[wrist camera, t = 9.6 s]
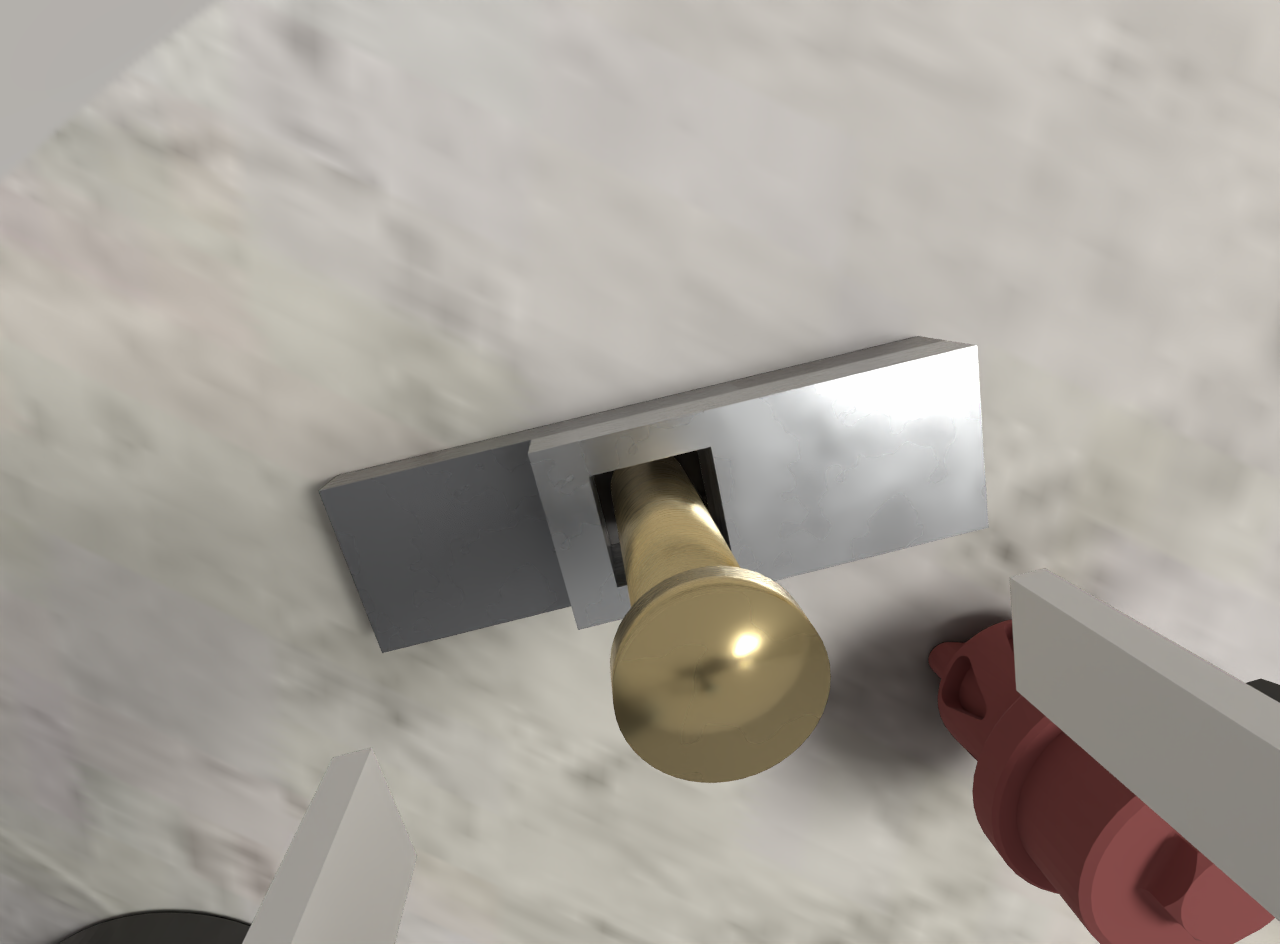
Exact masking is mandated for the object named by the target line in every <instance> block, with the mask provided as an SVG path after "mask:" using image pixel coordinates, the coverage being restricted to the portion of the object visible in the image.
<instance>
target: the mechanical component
mask: <svg viewBox="0 0 1280 944" xmlns="http://www.w3.org/2000/svg"><path fill="white" fill-rule="evenodd" d="M928 660H929V665H930V667H931V668H932V670H933V671H934V672H935V673H936V674H937V675H938V676H939V677H940V678H941V681H940V685H939V691H938V708H939V712H940V717H941V719H942V721H943V723H944V725H945V727H946V728H947V729H948V731H949V732H950V733H951V734H952V736H953V737H954V738H955V739H956V740H957V741H958V742H959V743H960V744H961V745H962V746H963V747H964V748H965V749H966V750H967V751H968V752H969V753H970V754H971V755H972V756H973V757H974V758H975V759H976V760H977V761H978V762H977V766H976V770H975V774H974V782H973V803H974V809H975V813H976V816H977V820H978V822H979V824H980V826H981V828H982V830H983V832H984V834H985V835H986V836H987V838H988V839H989V840H990V842H991V843H992V844H993V846H994V847H995V848H996V850H997V851H998V853H999V854H1000V855H1001V857H1002V858H1003V859H1004V861H1005V862H1006V863H1007V865H1008V866H1009V867H1010V868H1011V869H1012V870H1013V871H1014V872H1015V873H1016V874H1017V875H1018V876H1020V877H1021V878H1022V879H1024V880H1025V881H1027V882H1028V883H1030V884H1032V885H1034V886H1036V887H1038V888H1040V889H1043V890H1047V891H1050V892H1053V893H1057V894H1060V896H1061V897H1062V898H1063V899H1064V901H1065V902H1066V903H1067V904H1068V906H1069V907H1070V908H1071V909H1072V911H1073V912H1074V913H1075V915H1076V916H1077V917H1078V918H1079V920H1080V921H1081V922H1082V923H1083V925H1084V926H1085V927H1086V928H1087V930H1088V931H1089V932H1090V933H1091V935H1092V936H1093V937H1094V938H1095V939H1096V940H1097V941H1098V942H1099V943H1100V944H1234V943H1236V942H1237V941H1239V940H1241V939H1243V938H1245V937H1247V936H1249V935H1250V934H1252V933H1254V932H1256V931H1258V930H1260V929H1261V928H1263V927H1264V926H1265V925H1267V924H1268V923H1270V922H1271V921H1272V920H1273V919H1274V918H1275V917H1274V916H1273V915H1272V914H1270V913H1269V912H1268V911H1267V910H1266V909H1265V908H1264V907H1263V906H1261V905H1260V904H1259V903H1258V902H1257V901H1256V900H1255V899H1253V898H1252V897H1251V896H1250V895H1249V894H1248V893H1247V892H1245V891H1244V890H1243V889H1242V888H1241V887H1240V886H1239V885H1237V884H1236V883H1235V882H1234V881H1233V880H1232V879H1231V878H1229V877H1228V876H1227V875H1226V874H1225V873H1224V872H1223V871H1222V870H1220V869H1219V868H1218V867H1217V866H1216V865H1215V864H1214V863H1212V862H1211V861H1210V860H1209V859H1208V858H1207V857H1206V856H1204V855H1203V854H1202V853H1201V852H1200V851H1199V850H1198V849H1196V848H1195V847H1194V846H1193V845H1192V844H1191V843H1190V842H1188V841H1187V840H1186V839H1185V838H1184V837H1183V836H1182V835H1181V834H1179V833H1178V832H1177V831H1176V830H1175V829H1174V828H1173V827H1171V826H1170V825H1169V824H1168V823H1167V822H1166V821H1165V820H1163V819H1162V818H1161V817H1160V816H1159V815H1158V814H1157V813H1155V812H1154V811H1153V810H1152V809H1151V808H1150V807H1149V806H1147V805H1146V804H1145V803H1144V802H1143V801H1142V800H1141V799H1140V798H1138V797H1137V796H1136V795H1135V794H1134V793H1133V792H1132V791H1130V790H1129V789H1128V788H1127V787H1126V786H1125V785H1124V784H1122V783H1121V782H1120V781H1119V780H1118V779H1117V778H1116V777H1114V776H1113V775H1112V774H1111V773H1110V772H1109V771H1108V770H1106V769H1105V768H1104V767H1103V766H1102V765H1101V764H1100V763H1099V762H1097V761H1096V760H1095V759H1094V758H1093V757H1092V756H1091V755H1089V754H1088V753H1087V752H1086V751H1085V750H1084V749H1083V748H1081V747H1080V746H1079V745H1078V744H1077V743H1076V742H1075V741H1073V740H1072V739H1071V738H1070V737H1069V736H1068V735H1067V734H1065V733H1064V732H1063V731H1062V730H1061V729H1060V728H1059V727H1058V726H1056V725H1055V724H1054V723H1053V722H1052V721H1051V720H1050V719H1048V718H1047V717H1046V716H1045V715H1044V714H1043V713H1042V712H1040V711H1039V710H1038V709H1037V708H1036V707H1035V706H1034V705H1032V704H1031V703H1030V702H1029V701H1028V700H1027V699H1026V698H1024V697H1023V696H1022V695H1021V694H1020V693H1019V692H1018V691H1017V690H1016V678H1015V661H1014V644H1013V628H1012V619H1011V620H1006V621H1003V622H1000V623H997V624H995V625H992V626H990V627H988V628H986V629H984V630H983V631H981V632H979V633H978V634H976V635H975V636H974V637H972V638H971V639H969V640H968V641H967V642H966V643H958V642H945V643H941V644H939V645H938V646H936V647H935V648H934V649H933V650H932V651H931V653H930V655H929V659H928Z"/></svg>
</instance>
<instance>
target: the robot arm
mask: <svg viewBox="0 0 1280 944" xmlns="http://www.w3.org/2000/svg"><path fill="white" fill-rule="evenodd" d="M1009 578H1010V595H1011V611H1012V628H1013V644H1014V661H1015V678H1016V690H1017V691H1018V692H1019V693H1020V694H1021V695H1022V696H1023V697H1024V698H1026V699H1027V700H1028V701H1029V702H1030V703H1031V704H1032V705H1034V706H1035V707H1036V708H1037V709H1038V710H1039V711H1040V712H1042V713H1043V714H1044V715H1045V716H1046V717H1047V718H1048V719H1050V720H1051V721H1052V722H1053V723H1054V724H1055V725H1056V726H1058V727H1059V728H1060V729H1061V730H1062V731H1063V732H1064V733H1065V734H1067V735H1068V736H1069V737H1070V738H1071V739H1072V740H1073V741H1075V742H1076V743H1077V744H1078V745H1079V746H1080V747H1081V748H1083V749H1084V750H1085V751H1086V752H1087V753H1088V754H1089V755H1091V756H1092V757H1093V758H1094V759H1095V760H1096V761H1097V762H1099V763H1100V764H1101V765H1102V766H1103V767H1104V768H1105V769H1106V770H1108V771H1109V772H1110V773H1111V774H1112V775H1113V776H1114V777H1116V778H1117V779H1118V780H1119V781H1120V782H1121V783H1122V784H1124V785H1125V786H1126V787H1127V788H1128V789H1129V790H1130V791H1132V792H1133V793H1134V794H1135V795H1136V796H1137V797H1138V798H1140V799H1141V800H1142V801H1143V802H1144V803H1145V804H1146V805H1147V806H1149V807H1150V808H1151V809H1152V810H1153V811H1154V812H1155V813H1157V814H1158V815H1159V816H1160V817H1161V818H1162V819H1163V820H1165V821H1166V822H1167V823H1168V824H1169V825H1170V826H1171V827H1173V828H1174V829H1175V830H1176V831H1177V832H1178V833H1179V834H1181V835H1182V836H1183V837H1184V838H1185V839H1186V840H1187V841H1188V842H1190V843H1191V844H1192V845H1193V846H1194V847H1195V848H1196V849H1198V850H1199V851H1200V852H1201V853H1202V854H1203V855H1204V856H1206V857H1207V858H1208V859H1209V860H1210V861H1211V862H1212V863H1214V864H1215V865H1216V866H1217V867H1218V868H1219V869H1220V870H1222V871H1223V872H1224V873H1225V874H1226V875H1227V876H1228V877H1229V878H1231V879H1232V880H1233V881H1234V882H1235V883H1236V884H1237V885H1239V886H1240V887H1241V888H1242V889H1243V890H1244V891H1245V892H1247V893H1248V894H1249V895H1250V896H1251V897H1252V898H1253V899H1255V900H1256V901H1257V902H1258V903H1259V904H1260V905H1261V906H1263V907H1264V908H1265V909H1266V910H1267V911H1268V912H1269V913H1270V914H1272V915H1273V916H1274V917H1275V918H1276V919H1277V920H1278V921H1280V685H1278V684H1275V683H1272V682H1269V681H1266V680H1264V679H1258V680H1254V681H1251V682H1247V683H1244V682H1243V681H1241V680H1239V679H1237V678H1236V677H1234V676H1232V675H1230V674H1229V673H1227V672H1225V671H1223V670H1222V669H1220V668H1218V667H1216V666H1215V665H1213V664H1211V663H1209V662H1208V661H1206V660H1204V659H1202V658H1201V657H1199V656H1197V655H1196V654H1194V653H1192V652H1190V651H1189V650H1187V649H1185V648H1183V647H1182V646H1180V645H1178V644H1176V643H1175V642H1173V641H1171V640H1169V639H1168V638H1166V637H1164V636H1162V635H1161V634H1159V633H1157V632H1155V631H1154V630H1152V629H1150V628H1148V627H1147V626H1145V625H1143V624H1142V623H1140V622H1138V621H1136V620H1135V619H1133V618H1131V617H1129V616H1128V615H1126V614H1124V613H1122V612H1121V611H1119V610H1117V609H1115V608H1114V607H1112V606H1110V605H1108V604H1107V603H1105V602H1103V601H1101V600H1100V599H1098V598H1096V597H1094V596H1093V595H1091V594H1089V593H1087V592H1086V591H1084V590H1082V589H1081V588H1079V587H1077V586H1075V585H1074V584H1072V583H1070V582H1068V581H1067V580H1065V579H1063V578H1061V577H1060V576H1058V575H1056V574H1054V573H1053V572H1051V571H1049V570H1047V569H1046V568H1043V569H1039V570H1035V571H1031V572H1028V573H1024V574H1020V575H1016V576H1013V577H1009ZM416 858H417V854H416V852H415V849H414V847H413V845H412V842H411V840H410V837H409V835H408V833H407V830H406V828H405V825H404V823H403V821H402V818H401V816H400V813H399V811H398V809H397V806H396V804H395V801H394V799H393V797H392V794H391V792H390V789H389V787H388V785H387V782H386V780H385V777H384V775H383V773H382V770H381V768H380V765H379V763H378V761H377V758H376V756H375V753H374V751H373V749H372V747H371V748H367V749H363V750H360V751H356V752H352V753H348V754H345V755H341V756H337V757H333V758H332V760H331V762H330V764H329V766H328V768H327V770H326V772H325V774H324V776H323V779H322V781H321V783H320V785H319V787H318V789H317V791H316V793H315V795H314V797H313V799H312V801H311V803H310V805H309V807H308V809H307V811H306V813H305V816H304V818H303V820H302V822H301V824H300V826H299V828H298V830H297V832H296V834H295V836H294V838H293V840H292V842H291V844H290V846H289V848H288V850H287V852H286V855H285V857H284V859H283V861H282V863H281V865H280V867H279V869H278V871H277V873H276V875H275V877H274V879H273V881H272V883H271V885H270V887H269V889H268V892H267V894H266V896H265V898H264V900H263V902H262V904H261V906H260V908H259V910H258V912H257V914H256V916H255V918H254V920H253V922H252V924H251V926H248V925H245V924H242V923H239V922H235V921H232V920H228V919H223V918H219V917H214V916H207V915H200V914H191V913H150V914H141V915H134V916H128V917H123V918H119V919H114V920H111V921H107V922H104V923H101V924H98V925H95V926H92V927H90V928H87V929H85V930H83V931H81V932H78V933H77V934H75V935H73V936H71V937H69V938H67V939H66V940H64V941H62V942H61V943H59V944H395V941H396V937H397V933H398V929H399V925H400V921H401V918H402V914H403V910H404V906H405V902H406V898H407V894H408V890H409V886H410V882H411V878H412V874H413V870H414V866H415V862H416Z"/></svg>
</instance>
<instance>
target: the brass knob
mask: <svg viewBox="0 0 1280 944" xmlns="http://www.w3.org/2000/svg"><path fill="white" fill-rule="evenodd" d="M611 494H612V500H613V506H614V512H615V517H616V523H617V529H618V535H619V541H620V546H621V552H622V558H623V564H624V569H625V575H626V581H627V587H628V593H629V598H630V604H631V608H630V610H629V611H628V612H627V614H626V615H625V617H624V618H623V620H622V622H621V624H620V625H619V628H618V630H617V632H616V635H615V637H614V641H613V645H612V649H611V658H610V670H611V682H612V693H613V704H614V710H615V716H616V720H617V722H618V725H619V728H620V731H621V732H622V734H623V736H624V738H625V740H626V741H627V743H628V744H629V745H630V747H631V748H632V749H633V750H634V751H635V752H636V753H637V754H638V755H639V756H640V757H641V758H642V759H643V760H644V761H646V762H647V763H648V764H650V765H651V766H652V767H654V768H656V769H658V770H660V771H661V772H663V773H666V774H668V775H671V776H673V777H676V778H680V779H684V780H688V781H695V782H706V783H717V782H728V781H733V780H738V779H743V778H746V777H749V776H752V775H756V774H758V773H760V772H762V771H765V770H767V769H769V768H771V767H773V766H774V765H776V764H778V763H780V762H781V761H782V760H784V759H785V758H787V757H788V756H789V755H791V754H792V753H793V752H794V751H795V750H796V749H797V748H798V747H800V746H801V745H802V743H803V742H804V741H805V740H806V739H807V738H808V737H809V735H810V734H811V733H812V731H813V730H814V728H815V727H816V725H817V724H818V722H819V720H820V718H821V716H822V714H823V712H824V709H825V706H826V703H827V700H828V695H829V691H830V680H831V674H830V663H829V659H828V655H827V651H826V649H825V646H824V644H823V641H822V640H821V638H820V636H819V635H818V633H817V631H816V630H815V628H814V627H813V625H812V624H811V623H810V621H809V620H808V618H807V617H806V615H805V614H804V612H803V611H802V609H801V608H800V607H799V605H798V604H797V602H796V601H795V600H794V599H793V598H792V596H791V595H790V594H789V593H788V592H787V591H786V590H785V589H784V588H783V587H781V586H780V585H779V584H777V583H776V582H774V581H773V580H771V579H770V578H768V577H766V576H764V575H761V574H759V573H757V572H754V571H751V570H748V569H743V568H740V566H739V564H738V562H737V561H736V559H735V557H734V555H733V554H732V552H731V550H730V549H729V547H728V545H727V543H726V542H725V540H724V538H723V537H722V535H721V533H720V531H719V530H718V528H717V526H716V524H715V523H714V521H713V519H712V518H711V516H710V514H709V512H708V511H707V509H706V507H705V505H704V504H703V502H702V500H701V499H700V497H699V495H698V493H697V492H696V490H695V488H694V486H693V485H692V483H691V481H690V480H689V478H688V476H687V474H686V473H685V471H684V469H683V468H682V466H681V464H680V463H679V462H678V461H677V460H676V459H675V458H674V457H673V456H670V457H666V458H662V459H658V460H654V461H650V462H646V463H642V464H638V465H633V466H629V467H625V468H621V469H617V470H615V471H614V473H613V476H612V479H611Z"/></svg>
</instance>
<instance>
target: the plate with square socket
mask: <svg viewBox="0 0 1280 944" xmlns="http://www.w3.org/2000/svg"><path fill="white" fill-rule="evenodd" d="M695 450H697V453H698V458H699V463H700V468H701V473H702V478H703V483H704V488H705V493H706V498H707V503H708V508H709V512H710V516H711V518H712V519H713V521H714V523H715V524H716V526H717V528H718V530H719V531H720V533H721V535H722V537H723V538H724V540H725V542H726V543H727V545H728V547H729V549H730V550H731V552H732V554H733V555H734V557H735V559H736V561H737V562H738V564H739V566H740V568H743V569H748V570H751V571H754V572H757V573H759V574H761V575H764V576H766V577H768V578H770V579H771V580H773V581H776V580H780V579H784V578H788V577H792V576H796V575H800V574H804V573H808V572H812V571H816V570H820V569H824V568H828V567H832V566H836V565H840V564H844V563H848V562H852V561H856V560H860V559H864V558H868V557H872V556H876V555H880V554H884V553H888V552H892V551H896V550H900V549H904V548H908V547H912V546H916V545H920V544H924V543H928V542H932V541H936V540H940V539H944V538H948V537H952V536H956V535H960V534H964V533H968V532H972V531H977V530H981V529H985V528H989V526H988V511H987V495H986V480H985V464H984V449H983V434H982V418H981V403H980V387H979V372H978V356H977V345H971V344H965V343H959V342H952V341H946V340H940V339H933V338H927V337H921V336H917V337H913V338H909V339H905V340H900V341H896V342H892V343H888V344H884V345H880V346H875V347H871V348H867V349H863V350H859V351H855V352H850V353H846V354H842V355H838V356H834V357H829V358H825V359H821V360H817V361H813V362H809V363H804V364H800V365H796V366H792V367H788V368H784V369H779V370H775V371H771V372H767V373H763V374H759V375H754V376H750V377H746V378H742V379H738V380H734V381H729V382H725V383H721V384H717V385H713V386H708V387H704V388H700V389H696V390H692V391H688V392H683V393H679V394H675V395H671V396H667V397H663V398H658V399H654V400H650V401H646V402H642V403H638V404H633V405H629V406H625V407H621V408H617V409H613V410H608V411H604V412H600V413H596V414H592V415H587V416H583V417H579V418H575V419H571V420H567V421H562V422H558V423H554V424H550V425H546V426H542V427H537V428H533V429H529V430H525V431H521V432H517V433H512V434H508V435H504V436H500V437H496V438H492V439H487V440H483V441H479V442H475V443H471V444H466V445H462V446H458V447H454V448H450V449H446V450H441V451H437V452H433V453H429V454H425V455H421V456H416V457H412V458H408V459H404V460H400V461H396V462H391V463H387V464H383V465H379V466H375V467H371V468H366V469H362V470H358V471H354V472H350V473H345V474H341V475H337V476H336V477H335V478H334V479H332V480H331V481H330V482H329V483H328V484H326V485H325V486H324V487H323V488H321V489H320V490H319V494H320V496H321V499H322V501H323V504H324V506H325V509H326V511H327V514H328V517H329V519H330V522H331V524H332V527H333V529H334V532H335V534H336V537H337V539H338V542H339V544H340V547H341V550H342V552H343V555H344V557H345V560H346V562H347V565H348V567H349V570H350V572H351V575H352V577H353V580H354V583H355V585H356V588H357V590H358V593H359V595H360V598H361V600H362V603H363V605H364V608H365V610H366V613H367V616H368V618H369V621H370V623H371V626H372V628H373V631H374V633H375V636H376V638H377V641H378V643H379V646H380V648H381V651H382V653H384V652H388V651H392V650H396V649H400V648H404V647H408V646H412V645H416V644H420V643H424V642H428V641H432V640H437V639H441V638H445V637H449V636H453V635H457V634H461V633H465V632H469V631H473V630H477V629H481V628H485V627H489V626H493V625H497V624H501V623H505V622H509V621H513V620H517V619H521V618H525V617H529V616H533V615H537V614H541V613H545V612H549V611H553V610H557V609H561V608H565V607H569V606H571V607H572V610H573V614H574V617H575V621H576V624H577V628H578V630H580V629H584V628H588V627H592V626H596V625H600V624H604V623H608V622H612V621H616V620H620V619H623V618H624V617H625V615H626V614H627V612H628V611H629V610H630V608H631V604H630V598H629V593H628V587H627V581H626V575H625V569H624V564H623V558H622V552H621V546H620V543H619V544H615V545H611V542H610V538H609V535H608V531H607V527H606V523H605V519H604V515H603V511H602V507H601V503H600V499H599V496H598V492H597V488H596V484H595V480H594V476H593V475H596V474H600V473H605V472H609V471H613V470H617V469H621V468H625V467H629V466H633V465H638V464H642V463H646V462H650V461H654V460H658V459H662V458H666V457H670V456H675V455H679V454H683V453H687V452H691V451H695Z"/></svg>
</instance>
